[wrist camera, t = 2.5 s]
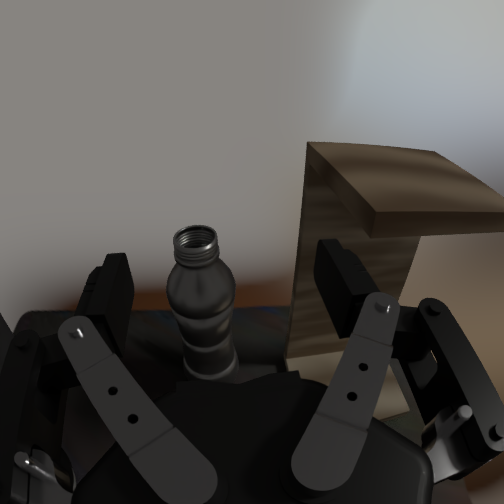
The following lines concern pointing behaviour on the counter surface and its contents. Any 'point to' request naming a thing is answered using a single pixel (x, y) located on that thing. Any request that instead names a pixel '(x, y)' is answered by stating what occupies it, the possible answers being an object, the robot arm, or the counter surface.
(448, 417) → the robot arm
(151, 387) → the counter surface
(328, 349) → the cubby shelf
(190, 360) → the plastic bottle
